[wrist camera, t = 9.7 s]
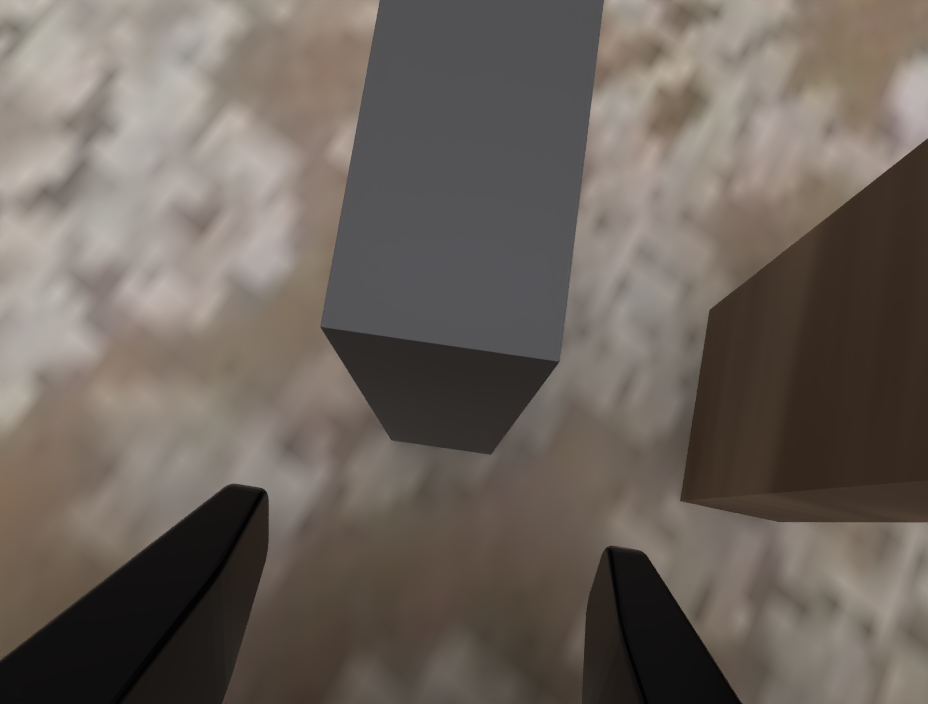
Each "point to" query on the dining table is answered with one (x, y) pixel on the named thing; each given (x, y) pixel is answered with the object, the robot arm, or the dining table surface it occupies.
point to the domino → (824, 370)
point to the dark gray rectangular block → (462, 212)
